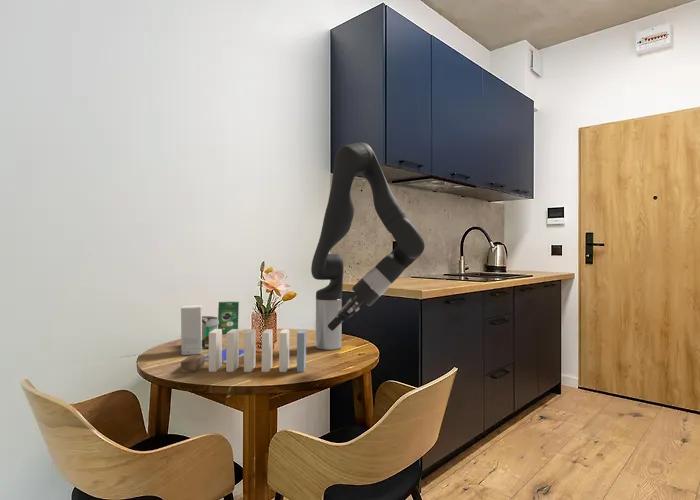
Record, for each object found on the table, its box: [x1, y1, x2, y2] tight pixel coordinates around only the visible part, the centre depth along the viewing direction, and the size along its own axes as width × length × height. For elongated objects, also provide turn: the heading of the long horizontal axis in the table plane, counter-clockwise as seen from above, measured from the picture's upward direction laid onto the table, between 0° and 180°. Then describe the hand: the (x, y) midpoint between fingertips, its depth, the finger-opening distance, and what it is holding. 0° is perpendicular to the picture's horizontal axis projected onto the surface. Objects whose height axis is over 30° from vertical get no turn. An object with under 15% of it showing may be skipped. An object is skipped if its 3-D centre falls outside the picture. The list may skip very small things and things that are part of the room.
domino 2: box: [225, 328, 240, 373], centre depth 126 cm, size 2×6×11 cm, turn 1°
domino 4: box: [261, 328, 274, 373], centre depth 126 cm, size 2×6×11 cm, turn 0°
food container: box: [202, 315, 219, 350], centre depth 157 cm, size 12×6×10 cm, turn 34°
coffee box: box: [217, 300, 240, 335], centre depth 180 cm, size 8×3×13 cm, turn 124°
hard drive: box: [204, 348, 244, 363], centre depth 140 cm, size 2×8×12 cm
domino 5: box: [278, 328, 290, 373], centre depth 126 cm, size 2×6×11 cm, turn 0°
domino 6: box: [296, 328, 307, 373], centre depth 126 cm, size 2×6×11 cm, turn 0°
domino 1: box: [208, 328, 223, 373], centre depth 126 cm, size 2×6×11 cm, turn 1°
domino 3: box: [243, 328, 257, 373], centre depth 126 cm, size 2×6×11 cm, turn 1°
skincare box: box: [180, 304, 203, 356], centre depth 146 cm, size 8×7×16 cm
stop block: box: [180, 354, 205, 373], centre depth 126 cm, size 4×8×3 cm, turn 0°
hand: (329, 328), depth 126 cm, fingers closed
